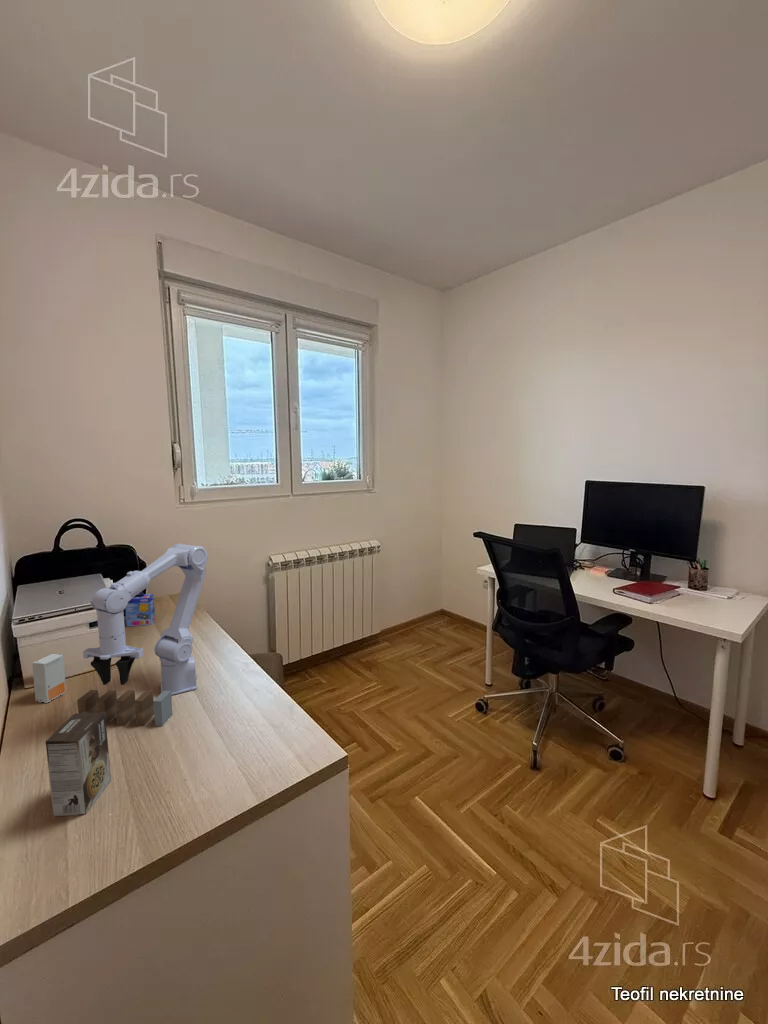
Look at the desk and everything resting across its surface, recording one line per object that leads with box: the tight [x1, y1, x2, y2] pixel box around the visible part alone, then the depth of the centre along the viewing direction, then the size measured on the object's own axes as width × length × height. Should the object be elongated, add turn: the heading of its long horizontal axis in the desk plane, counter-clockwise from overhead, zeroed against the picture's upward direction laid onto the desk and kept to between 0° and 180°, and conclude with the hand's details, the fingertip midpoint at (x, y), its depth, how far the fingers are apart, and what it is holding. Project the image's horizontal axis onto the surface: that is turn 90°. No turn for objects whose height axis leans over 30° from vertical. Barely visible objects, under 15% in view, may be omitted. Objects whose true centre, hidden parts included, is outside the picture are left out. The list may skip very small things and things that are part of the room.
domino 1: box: [76, 689, 100, 713], centre depth 111 cm, size 2×5×7 cm, turn 179°
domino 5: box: [153, 691, 173, 727], centre depth 111 cm, size 2×5×7 cm, turn 179°
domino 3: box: [115, 689, 136, 727], centre depth 111 cm, size 2×5×7 cm, turn 179°
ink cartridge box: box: [124, 591, 156, 627], centre depth 176 cm, size 10×6×14 cm, turn 104°
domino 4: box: [134, 689, 154, 727], centre depth 111 cm, size 2×5×7 cm, turn 179°
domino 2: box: [96, 689, 118, 726], centre depth 111 cm, size 2×5×7 cm, turn 179°
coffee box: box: [45, 712, 112, 817], centre depth 85 cm, size 9×6×16 cm
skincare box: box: [31, 654, 67, 704], centre depth 121 cm, size 6×4×12 cm
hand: (115, 683), depth 110 cm, fingers open, 4 cm apart
